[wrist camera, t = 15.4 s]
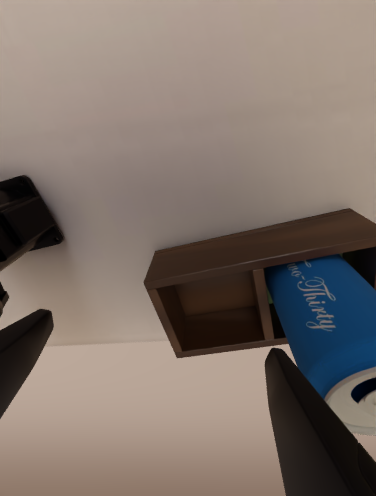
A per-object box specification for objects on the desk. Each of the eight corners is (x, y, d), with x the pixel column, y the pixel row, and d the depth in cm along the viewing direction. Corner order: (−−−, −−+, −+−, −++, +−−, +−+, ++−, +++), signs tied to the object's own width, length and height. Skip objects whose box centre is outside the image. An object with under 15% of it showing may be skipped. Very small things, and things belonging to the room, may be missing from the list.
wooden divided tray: (346, 292, 24) (380, 331, 19) (181, 318, 27) (176, 358, 22) (350, 207, 20) (393, 233, 15) (155, 250, 23) (143, 282, 18)
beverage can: (316, 221, 20) (448, 339, 9) (347, 273, 22) (483, 417, 11) (249, 261, 22) (291, 393, 11) (283, 305, 24) (346, 450, 13)
